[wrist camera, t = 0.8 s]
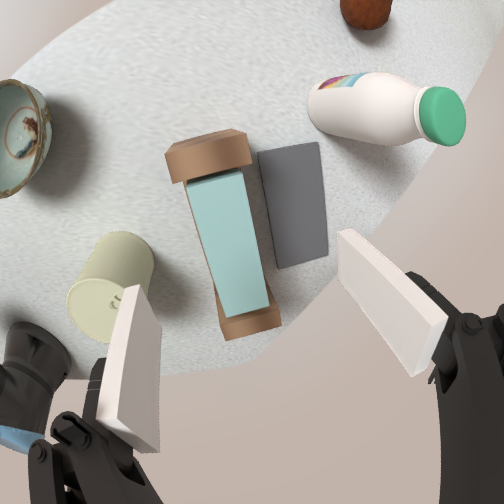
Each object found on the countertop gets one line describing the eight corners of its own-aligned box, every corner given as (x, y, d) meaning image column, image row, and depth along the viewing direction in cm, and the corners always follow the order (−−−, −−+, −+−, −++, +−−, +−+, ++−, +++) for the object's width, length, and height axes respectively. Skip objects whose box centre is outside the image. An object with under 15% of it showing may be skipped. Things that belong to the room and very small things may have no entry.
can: (167, 259, 37) (161, 316, 26) (131, 298, 38) (117, 358, 28) (116, 217, 32) (86, 263, 22) (82, 262, 34) (53, 316, 24)
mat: (277, 267, 41) (278, 269, 40) (256, 152, 32) (257, 153, 32) (326, 253, 41) (328, 255, 41) (316, 141, 33) (318, 142, 32)
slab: (222, 296, 34) (226, 317, 30) (187, 178, 26) (186, 188, 23) (261, 285, 34) (269, 305, 31) (235, 165, 27) (242, 173, 23)
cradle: (217, 292, 41) (225, 341, 32) (173, 143, 30) (164, 154, 21) (262, 279, 41) (281, 325, 32) (231, 128, 30) (246, 133, 22)
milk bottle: (351, 140, 34) (467, 178, 16) (299, 127, 32) (409, 151, 14) (360, 89, 30) (481, 94, 13) (309, 72, 28) (424, 48, 11)
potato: (386, 14, 25) (413, 6, 19) (355, 43, 27) (383, 35, 21) (353, -18, 21) (378, -32, 16) (319, 8, 24) (342, -7, 18)
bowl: (89, 105, 25) (61, 104, 18) (47, 197, 29) (18, 218, 22) (23, 70, 19) (-11, 66, 12) (-12, 157, 23) (-45, 171, 16)
